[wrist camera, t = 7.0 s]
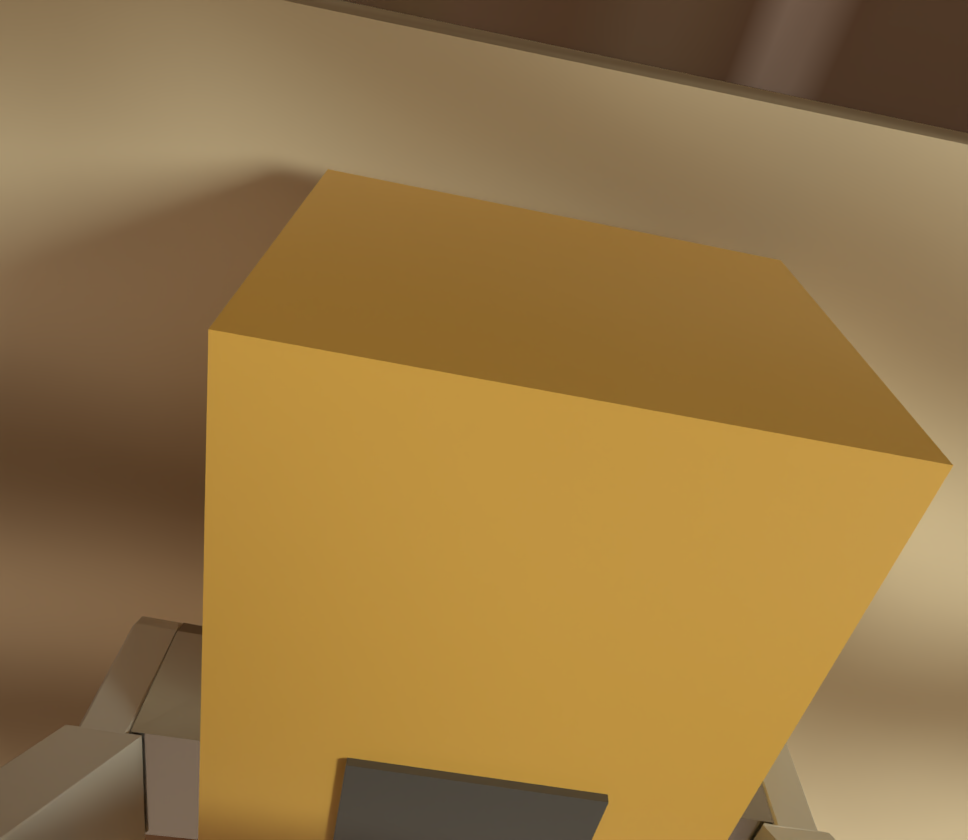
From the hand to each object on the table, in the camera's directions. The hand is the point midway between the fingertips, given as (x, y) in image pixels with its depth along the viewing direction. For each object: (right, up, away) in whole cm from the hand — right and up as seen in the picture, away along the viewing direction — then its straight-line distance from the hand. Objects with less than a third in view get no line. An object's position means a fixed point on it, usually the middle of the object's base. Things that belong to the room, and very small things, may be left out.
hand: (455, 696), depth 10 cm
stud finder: (0, +1, +1) cm, 2 cm away
